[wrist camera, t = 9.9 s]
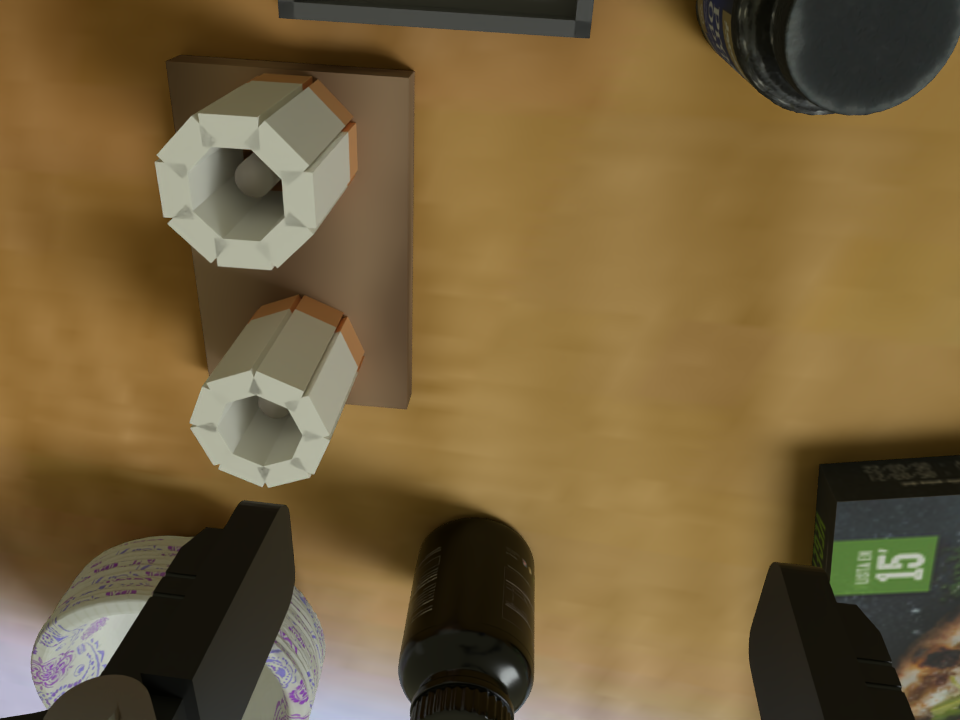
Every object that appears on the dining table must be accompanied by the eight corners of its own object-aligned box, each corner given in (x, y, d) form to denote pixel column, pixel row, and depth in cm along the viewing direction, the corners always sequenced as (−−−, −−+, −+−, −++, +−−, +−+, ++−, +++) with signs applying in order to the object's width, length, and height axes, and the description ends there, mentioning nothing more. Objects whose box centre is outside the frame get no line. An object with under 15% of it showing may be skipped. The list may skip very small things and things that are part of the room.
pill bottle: (661, 8, 32) (707, 56, 22) (773, -143, 29) (880, -163, 20) (777, 101, 33) (867, 183, 24) (894, -35, 30) (1050, -5, 21)
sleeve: (354, 78, 33) (309, 120, 27) (359, 209, 35) (318, 273, 29) (221, 70, 33) (146, 109, 27) (235, 200, 36) (170, 262, 30)
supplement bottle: (449, 610, 49) (422, 800, 39) (399, 531, 47) (355, 713, 36) (554, 583, 48) (554, 774, 37) (508, 498, 45) (495, 680, 34)
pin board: (414, 71, 34) (386, 105, 28) (411, 393, 42) (389, 470, 36) (180, 54, 34) (106, 86, 29) (221, 377, 42) (170, 451, 37)
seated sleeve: (332, 284, 37) (289, 358, 31) (378, 381, 40) (347, 468, 34) (229, 315, 39) (168, 393, 32) (280, 408, 41) (233, 496, 35)
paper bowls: (379, 649, 52) (352, 764, 45) (182, 692, 56) (129, 804, 49) (264, 469, 45) (212, 571, 38) (48, 532, 49) (-34, 635, 42)
